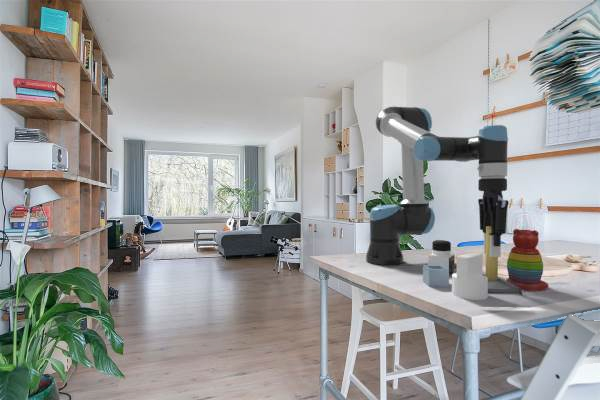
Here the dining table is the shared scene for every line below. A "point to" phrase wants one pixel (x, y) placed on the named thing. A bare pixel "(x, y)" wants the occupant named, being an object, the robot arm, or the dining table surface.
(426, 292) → the dining table surface
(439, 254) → the medicine bottle
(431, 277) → the pen cup
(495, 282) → the tray
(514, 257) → the stacking bear
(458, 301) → the dining table surface
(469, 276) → the base with upright slab
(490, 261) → the dowel
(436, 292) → the dining table surface
